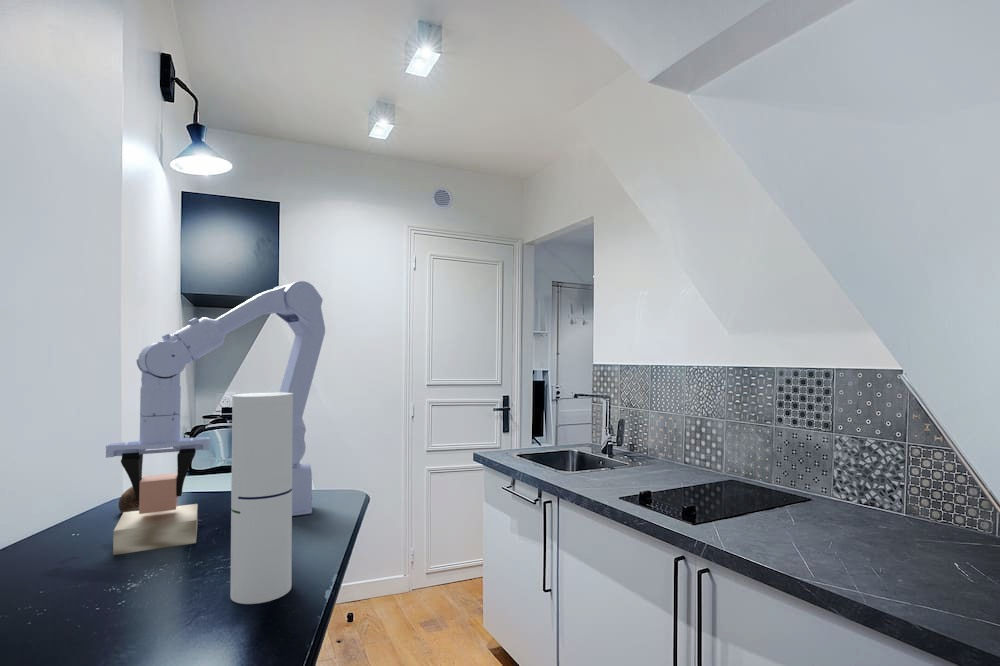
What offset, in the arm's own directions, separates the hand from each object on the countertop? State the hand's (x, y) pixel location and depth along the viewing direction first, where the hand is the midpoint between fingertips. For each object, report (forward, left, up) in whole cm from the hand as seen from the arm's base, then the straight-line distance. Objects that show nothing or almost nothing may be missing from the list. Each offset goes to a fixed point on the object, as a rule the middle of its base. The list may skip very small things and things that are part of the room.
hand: (159, 497), depth 91 cm
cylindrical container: (-14, +30, -7) cm, 34 cm away
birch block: (0, 0, -7) cm, 7 cm away
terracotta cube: (0, 0, -2) cm, 2 cm away
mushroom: (+5, -20, -7) cm, 22 cm away
